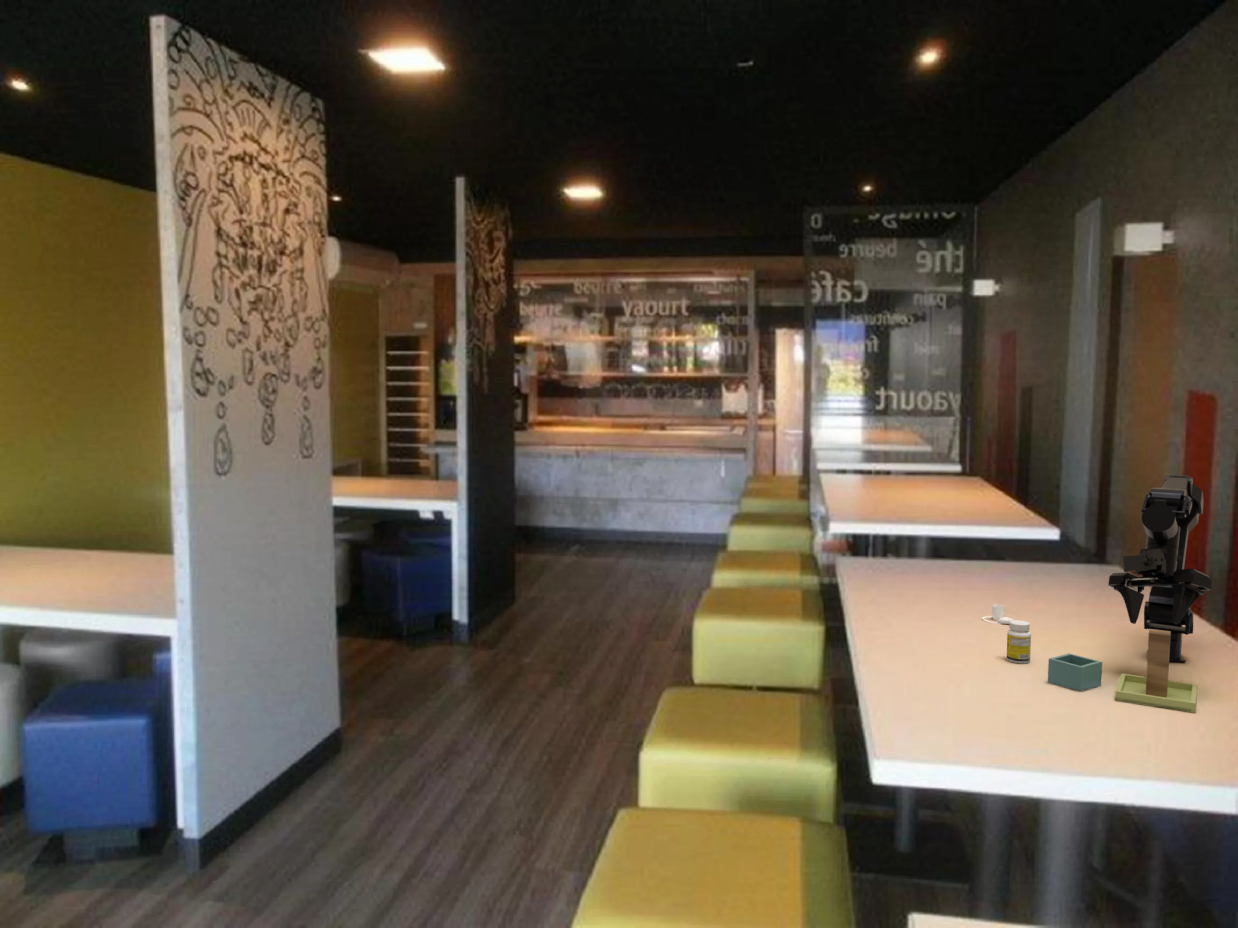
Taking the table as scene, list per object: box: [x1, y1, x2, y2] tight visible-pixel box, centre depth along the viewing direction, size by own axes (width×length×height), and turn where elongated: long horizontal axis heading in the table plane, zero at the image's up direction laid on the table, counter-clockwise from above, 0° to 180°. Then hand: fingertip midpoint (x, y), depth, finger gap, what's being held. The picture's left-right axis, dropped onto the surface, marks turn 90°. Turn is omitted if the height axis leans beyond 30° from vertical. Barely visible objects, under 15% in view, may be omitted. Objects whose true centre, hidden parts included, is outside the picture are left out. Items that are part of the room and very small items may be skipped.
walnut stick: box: [1146, 629, 1171, 698], centre depth 184 cm, size 4×4×12 cm
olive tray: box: [1114, 673, 1198, 714], centre depth 185 cm, size 13×13×2 cm
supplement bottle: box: [1006, 619, 1032, 665], centre depth 208 cm, size 5×5×8 cm
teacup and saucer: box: [981, 603, 1015, 625], centre depth 243 cm, size 9×8×4 cm
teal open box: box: [1047, 653, 1103, 692], centre depth 192 cm, size 7×7×5 cm
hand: (1153, 623), depth 191 cm, fingers open, 9 cm apart
